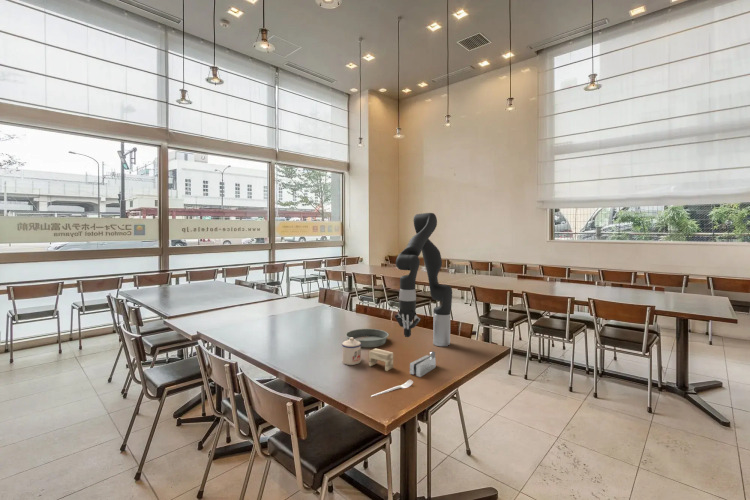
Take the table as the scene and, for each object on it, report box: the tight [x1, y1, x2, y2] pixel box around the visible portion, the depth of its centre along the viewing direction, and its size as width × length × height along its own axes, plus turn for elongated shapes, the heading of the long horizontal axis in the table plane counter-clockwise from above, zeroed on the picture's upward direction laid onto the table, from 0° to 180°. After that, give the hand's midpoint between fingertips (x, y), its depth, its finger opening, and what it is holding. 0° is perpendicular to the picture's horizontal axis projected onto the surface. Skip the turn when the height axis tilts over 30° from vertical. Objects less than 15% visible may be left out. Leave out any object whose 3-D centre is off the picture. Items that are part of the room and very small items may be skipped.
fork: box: [370, 379, 414, 397], centre depth 140 cm, size 3×20×2 cm, turn 125°
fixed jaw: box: [415, 356, 437, 378], centre depth 159 cm, size 14×2×5 cm, turn 143°
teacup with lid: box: [341, 337, 362, 366], centre depth 171 cm, size 12×9×12 cm
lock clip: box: [368, 347, 394, 372], centre depth 164 cm, size 5×10×7 cm, turn 54°
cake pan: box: [344, 328, 390, 348], centre depth 203 cm, size 25×25×4 cm
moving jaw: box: [409, 350, 436, 375], centre depth 161 cm, size 17×4×6 cm, turn 141°
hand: (407, 336), depth 162 cm, fingers closed
